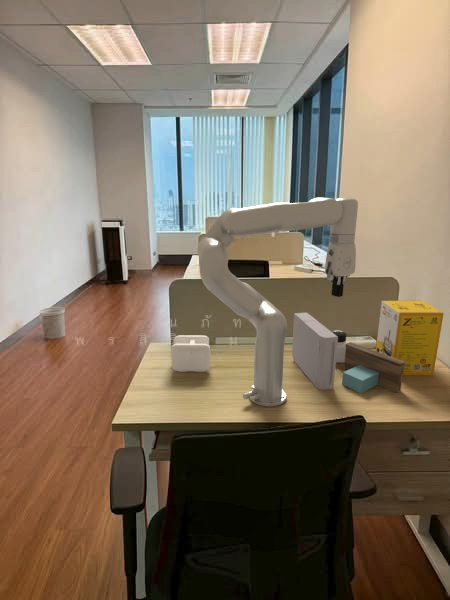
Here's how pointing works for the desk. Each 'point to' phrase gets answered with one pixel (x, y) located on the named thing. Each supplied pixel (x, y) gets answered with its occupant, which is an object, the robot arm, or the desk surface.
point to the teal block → (360, 378)
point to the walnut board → (376, 365)
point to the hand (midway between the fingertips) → (336, 295)
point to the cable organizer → (191, 353)
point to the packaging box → (410, 334)
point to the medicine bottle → (340, 346)
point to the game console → (314, 350)
